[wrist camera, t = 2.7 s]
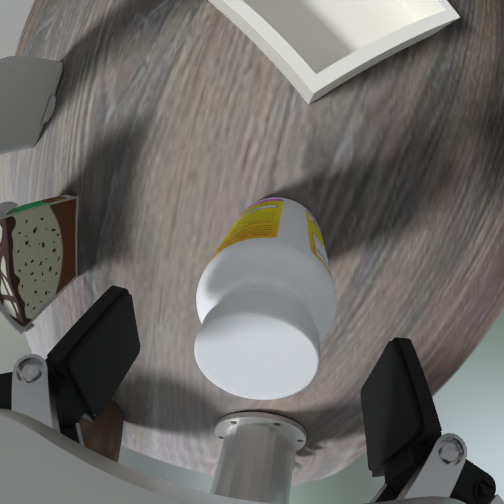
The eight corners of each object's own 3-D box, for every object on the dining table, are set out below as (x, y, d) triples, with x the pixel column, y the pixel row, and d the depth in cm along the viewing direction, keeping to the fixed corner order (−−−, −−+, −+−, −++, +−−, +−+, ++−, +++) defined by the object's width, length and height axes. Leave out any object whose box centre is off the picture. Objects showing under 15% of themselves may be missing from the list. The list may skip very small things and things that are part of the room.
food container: (43, 168, 22) (-32, 193, 13) (80, 180, 22) (-3, 212, 13) (44, 267, 27) (-11, 309, 18) (78, 287, 27) (22, 338, 18)
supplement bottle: (221, 254, 22) (152, 372, 11) (256, 179, 20) (198, 246, 8) (295, 290, 23) (287, 427, 11) (337, 221, 20) (384, 335, 8)
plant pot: (96, 420, 41) (63, 476, 27) (57, 368, 36) (10, 429, 21) (156, 437, 39) (125, 507, 24) (117, 383, 33) (66, 467, 19)
